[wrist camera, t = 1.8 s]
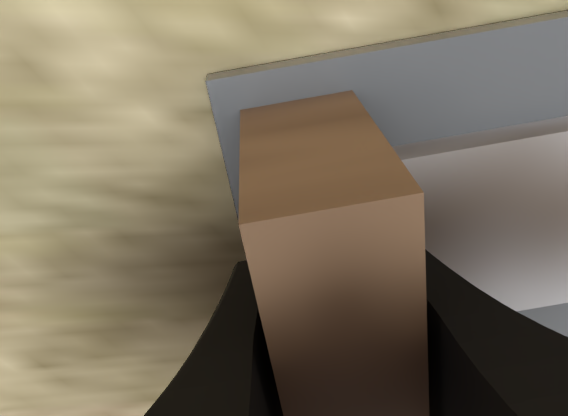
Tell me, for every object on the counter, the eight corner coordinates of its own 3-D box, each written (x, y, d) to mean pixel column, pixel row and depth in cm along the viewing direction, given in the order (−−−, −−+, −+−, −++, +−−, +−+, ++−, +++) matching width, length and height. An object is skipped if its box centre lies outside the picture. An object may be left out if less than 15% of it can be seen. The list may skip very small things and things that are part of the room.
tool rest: (703, 300, 16) (719, 313, 15) (276, 373, 16) (277, 388, 15) (809, -34, 11) (837, -32, 11) (207, 74, 11) (205, 80, 11)
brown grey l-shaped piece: (704, 297, 15) (897, 450, 10) (293, 367, 15) (314, 547, 11) (794, 11, 11) (1162, 64, 7) (240, 109, 11) (238, 225, 7)
